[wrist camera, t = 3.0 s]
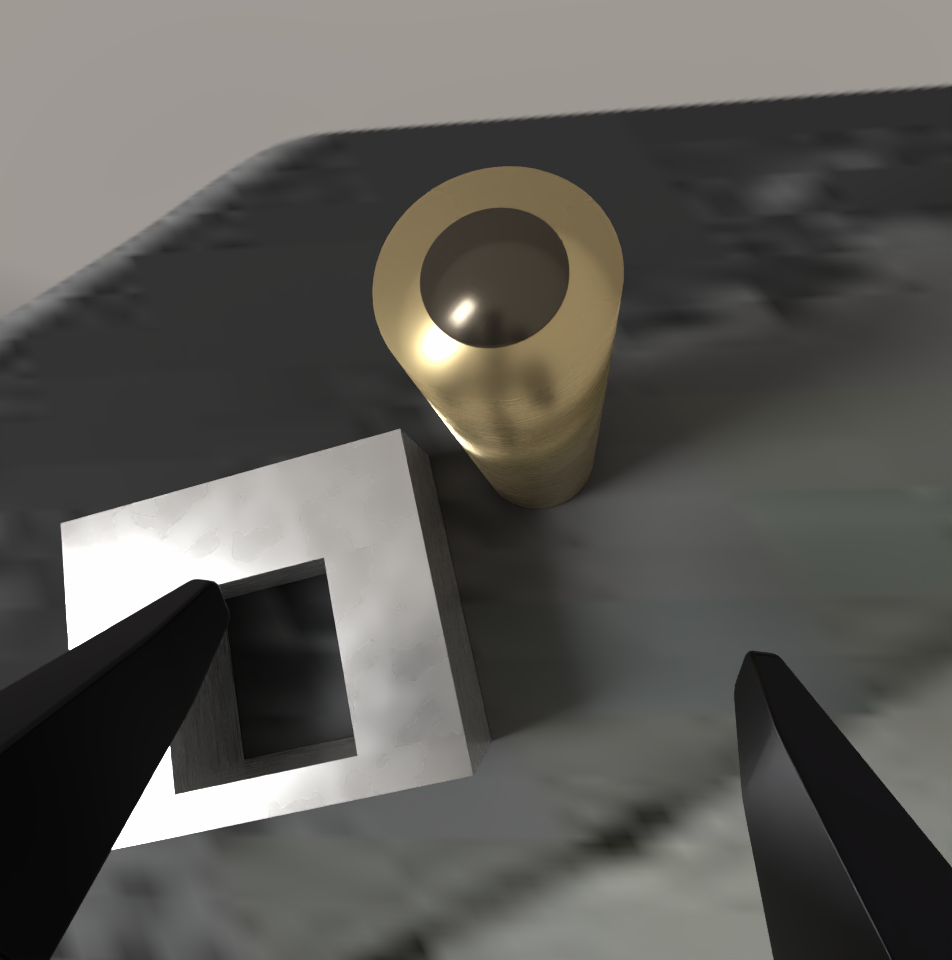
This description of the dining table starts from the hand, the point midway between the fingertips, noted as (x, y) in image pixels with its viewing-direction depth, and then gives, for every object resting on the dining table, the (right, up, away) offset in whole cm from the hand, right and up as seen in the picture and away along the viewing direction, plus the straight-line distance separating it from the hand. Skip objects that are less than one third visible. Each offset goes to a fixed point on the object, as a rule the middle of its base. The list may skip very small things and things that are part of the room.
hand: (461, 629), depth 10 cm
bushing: (+3, +4, +13) cm, 14 cm away
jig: (-7, -3, +13) cm, 15 cm away
